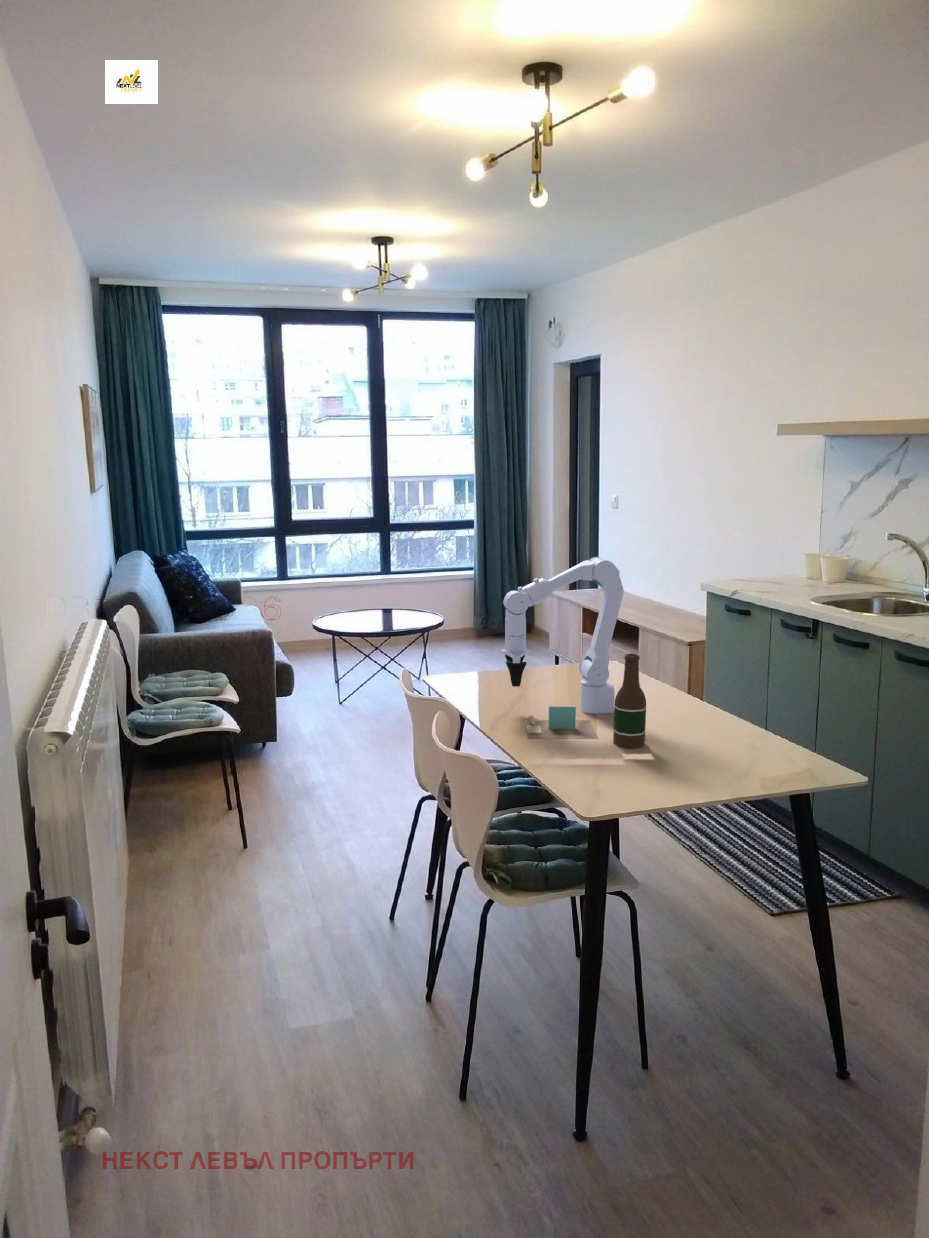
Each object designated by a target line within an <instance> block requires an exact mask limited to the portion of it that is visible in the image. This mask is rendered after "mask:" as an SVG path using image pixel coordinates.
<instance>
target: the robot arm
mask: <svg viewBox="0 0 929 1238" xmlns="http://www.w3.org/2000/svg"><path fill="white" fill-rule="evenodd" d="M580 580H583V581H591V582H593V581H594V582H595V583H596V584H597V585H598V587H599V588H600V590H601V592H603V596H602V599H601V600H602V601H601V604H600V609H599V612H598V616H597V619H596V624H595V627H594V631H593V635H592V638H591V643H590V646H589V647H588V649H587V650H586V652H585V656H584V657H583V659H582V660H581V661H580V662H579V665H578V666H579V667H578V670H579V673H580V675H581V676H582V678H581V680H580V693H579V694H580V695H579V697H580V700H579V701H580V703H579V705H580V706H579V710H580V711H581V712H582V713H585V714H590V715H591V714H597V715H598V714H614V705H615V686H614V683H611V682H610V683H609V682H608V680H609V677H610V671H609V664H610V658H609V650H610V646H611V643H612V640H613V635H614V631H615V627H616V624H617V620H618V616H619V612H620V608H621V604H622V601H623V596H624V595H625V594H624V593H625V591H624V586H623V584H622V579H621V576H620V569H619V568H618V567H617V566H616V565H615V564H614V563H613V562H612V561H609V560H608V559H607V560H606V559H604V558H603V557H601V556H594V557H591V558H590V559H587V560H583V561H581V562H580V563H578V564H576V565H573V566H572V567H571V568H568V569H567V570H564V571H563V572H560V573H559V574H557V575H555V576H553V577H551V578H550V579H546V578H542V577H541V578H537V577H536V578H534V579H532V581H533V582H531V583H528V584H525V586H518V587H517V590H510V591H509V592H506V595H504V598H503V600H502V603H503V606H504V608H505V613H504V614H505V618H504V621H505V622H504V631H505V632H504V634H505V635H504V648H505V649H501V650H500V654H503V655H504V656H505V657H504V658H505V659H506V660H505V665H506V667H507V669H508V673H509V675H510V682H511V686H512V687H515V688H516V687H520V686H521V683H522V677H523V675H524V674H523V673H524V670H525V668H526V666H527V661H524V659H525V657H526V654H527V653H528V652H527V618H526V611H527V610H528V608H529V607H533V606H534V605H536V604H539V603H541V602H544V601H545V600H547V599H549V598H551V597H552V595H553V592H554V591H556V590H558V589H560V588H563V587H565V586H568V585H569V584H572V583H574V582H577V581H580ZM607 682H608V683H607Z"/></svg>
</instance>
